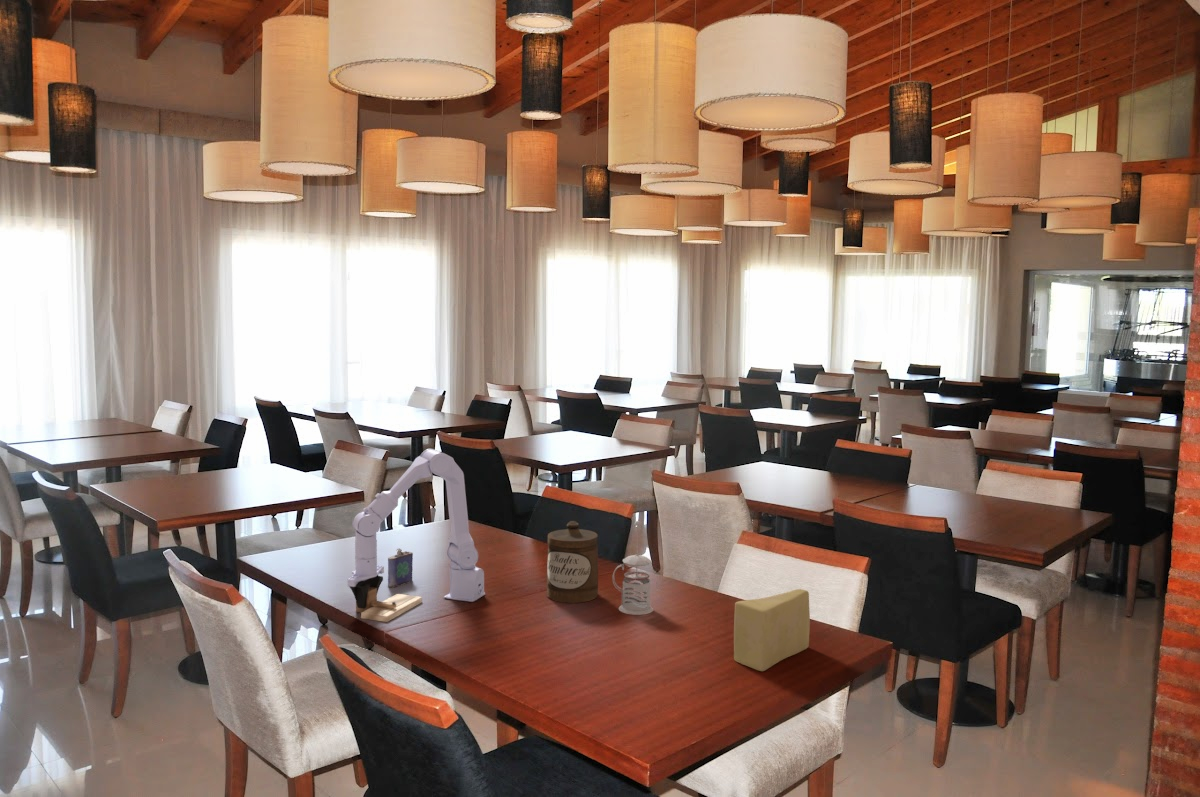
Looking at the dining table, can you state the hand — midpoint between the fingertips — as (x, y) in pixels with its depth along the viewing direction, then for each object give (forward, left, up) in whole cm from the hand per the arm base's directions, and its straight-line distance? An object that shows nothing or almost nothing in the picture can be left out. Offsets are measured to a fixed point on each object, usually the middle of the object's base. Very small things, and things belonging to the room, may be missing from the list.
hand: (366, 605), depth 254 cm
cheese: (-111, -8, -2) cm, 111 cm away
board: (-6, -3, -1) cm, 7 cm away
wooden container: (-47, -34, -2) cm, 58 cm away
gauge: (-3, 0, -1) cm, 4 cm away
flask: (+5, -25, -2) cm, 25 cm away
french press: (-67, -29, -2) cm, 73 cm away
